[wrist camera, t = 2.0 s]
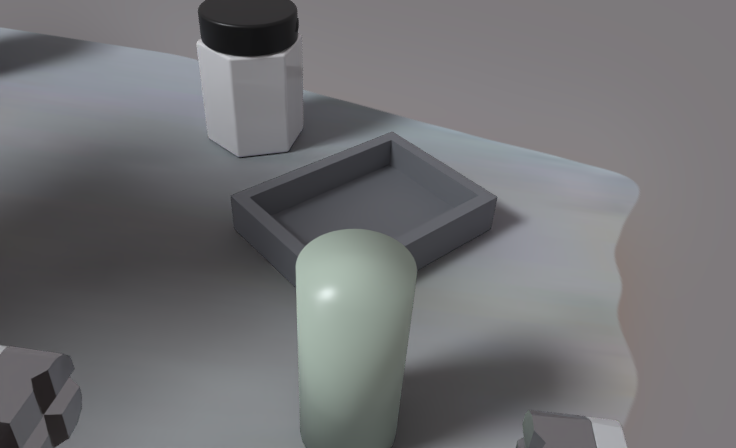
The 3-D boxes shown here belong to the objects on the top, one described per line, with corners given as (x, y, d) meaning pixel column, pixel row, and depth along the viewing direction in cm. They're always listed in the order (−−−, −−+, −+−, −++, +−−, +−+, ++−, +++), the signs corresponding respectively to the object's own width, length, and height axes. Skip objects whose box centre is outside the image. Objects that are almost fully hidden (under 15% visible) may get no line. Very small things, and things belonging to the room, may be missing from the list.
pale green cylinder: (340, 489, 33) (346, 330, 26) (281, 418, 36) (271, 258, 29) (416, 432, 36) (442, 275, 28) (355, 371, 39) (364, 215, 31)
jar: (321, 137, 60) (321, 11, 53) (252, 169, 56) (242, 36, 48) (260, 103, 65) (253, -17, 58) (192, 130, 60) (174, 3, 53)
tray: (329, 319, 42) (329, 285, 40) (234, 228, 49) (230, 195, 47) (490, 228, 51) (497, 197, 49) (389, 161, 58) (392, 131, 56)
